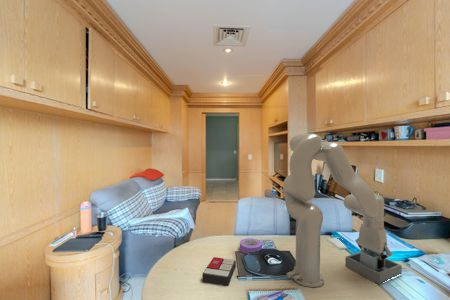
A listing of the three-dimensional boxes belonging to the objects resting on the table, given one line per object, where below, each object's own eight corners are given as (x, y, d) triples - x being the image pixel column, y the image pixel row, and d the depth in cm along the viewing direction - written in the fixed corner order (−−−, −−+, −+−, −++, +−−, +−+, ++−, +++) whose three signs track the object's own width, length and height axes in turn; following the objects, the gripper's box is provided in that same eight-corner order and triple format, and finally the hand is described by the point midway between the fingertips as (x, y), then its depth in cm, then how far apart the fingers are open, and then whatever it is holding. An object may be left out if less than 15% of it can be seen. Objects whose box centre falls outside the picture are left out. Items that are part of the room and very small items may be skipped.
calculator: (236, 258, 103) (228, 275, 88) (235, 268, 103) (228, 286, 88) (213, 255, 106) (202, 271, 91) (213, 265, 106) (201, 282, 91)
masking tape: (248, 242, 127) (248, 236, 127) (266, 249, 119) (266, 242, 119) (235, 249, 119) (235, 242, 119) (252, 257, 111) (252, 250, 111)
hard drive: (326, 238, 131) (339, 247, 119) (339, 237, 132) (354, 247, 119) (326, 240, 131) (339, 250, 119) (339, 240, 132) (354, 250, 119)
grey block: (373, 271, 94) (373, 257, 94) (359, 264, 100) (360, 251, 100) (385, 267, 98) (385, 253, 98) (371, 260, 103) (371, 248, 103)
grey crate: (379, 285, 89) (379, 273, 89) (345, 266, 103) (345, 256, 102) (401, 275, 95) (401, 265, 95) (366, 259, 109) (366, 250, 109)
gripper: (349, 218, 105) (348, 256, 105) (389, 231, 89) (388, 276, 89) (359, 216, 108) (359, 253, 108) (400, 228, 92) (399, 272, 93)
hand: (372, 263), depth 99 cm, fingers closed on grey block, 5 cm apart
